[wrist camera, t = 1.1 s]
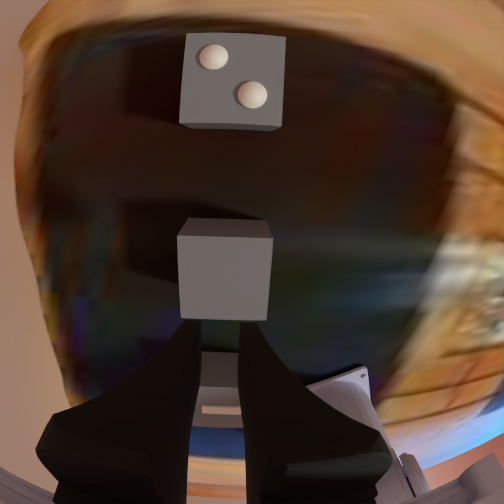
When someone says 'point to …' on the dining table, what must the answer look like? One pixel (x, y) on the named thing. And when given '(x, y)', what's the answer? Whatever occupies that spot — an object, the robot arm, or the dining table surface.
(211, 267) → the plain block
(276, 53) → the dotted block
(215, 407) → the barred block
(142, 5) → the dining table surface
